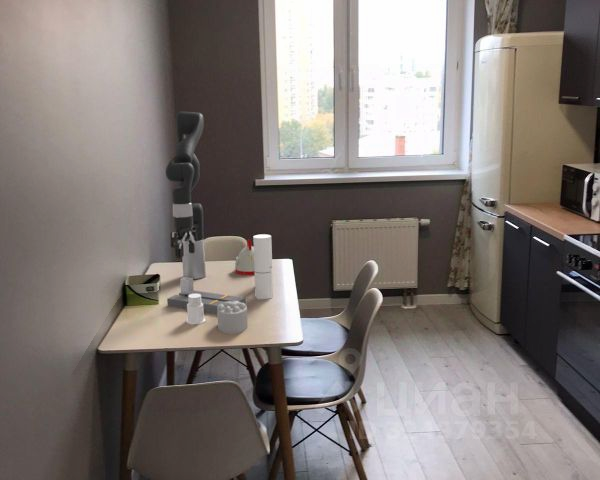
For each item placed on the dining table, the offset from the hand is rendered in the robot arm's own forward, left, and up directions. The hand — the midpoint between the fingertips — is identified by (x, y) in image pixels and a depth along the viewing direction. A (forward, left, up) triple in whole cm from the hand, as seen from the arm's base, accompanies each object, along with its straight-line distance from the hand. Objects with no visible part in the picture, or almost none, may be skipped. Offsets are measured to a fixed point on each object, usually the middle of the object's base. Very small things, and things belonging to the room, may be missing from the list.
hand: (185, 255), depth 267 cm
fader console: (+9, 0, -19) cm, 21 cm away
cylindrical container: (+24, +19, -20) cm, 36 cm away
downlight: (+16, -17, -20) cm, 30 cm away
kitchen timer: (-2, +51, -20) cm, 55 cm away
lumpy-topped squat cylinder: (+32, -17, -20) cm, 41 cm away
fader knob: (0, 0, -19) cm, 19 cm away
